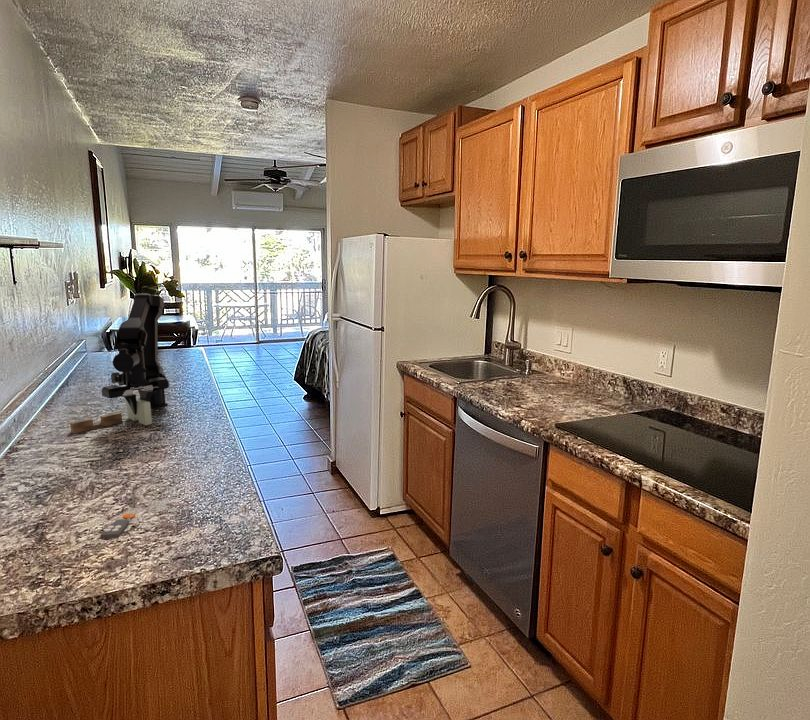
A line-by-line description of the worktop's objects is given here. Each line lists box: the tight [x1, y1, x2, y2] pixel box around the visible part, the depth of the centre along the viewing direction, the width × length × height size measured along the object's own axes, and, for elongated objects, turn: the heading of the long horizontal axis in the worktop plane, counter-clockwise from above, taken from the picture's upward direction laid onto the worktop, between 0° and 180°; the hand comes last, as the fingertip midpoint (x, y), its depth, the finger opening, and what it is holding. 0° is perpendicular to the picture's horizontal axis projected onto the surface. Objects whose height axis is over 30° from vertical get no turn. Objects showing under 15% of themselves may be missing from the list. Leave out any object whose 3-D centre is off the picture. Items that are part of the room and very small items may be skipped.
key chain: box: [99, 510, 140, 539], centre depth 103 cm, size 13×4×2 cm, turn 4°
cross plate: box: [125, 397, 153, 426], centre depth 166 cm, size 12×2×7 cm, turn 52°
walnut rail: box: [69, 411, 123, 434], centre depth 160 cm, size 14×2×3 cm, turn 142°
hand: (138, 413), depth 166 cm, fingers closed on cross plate, 2 cm apart
